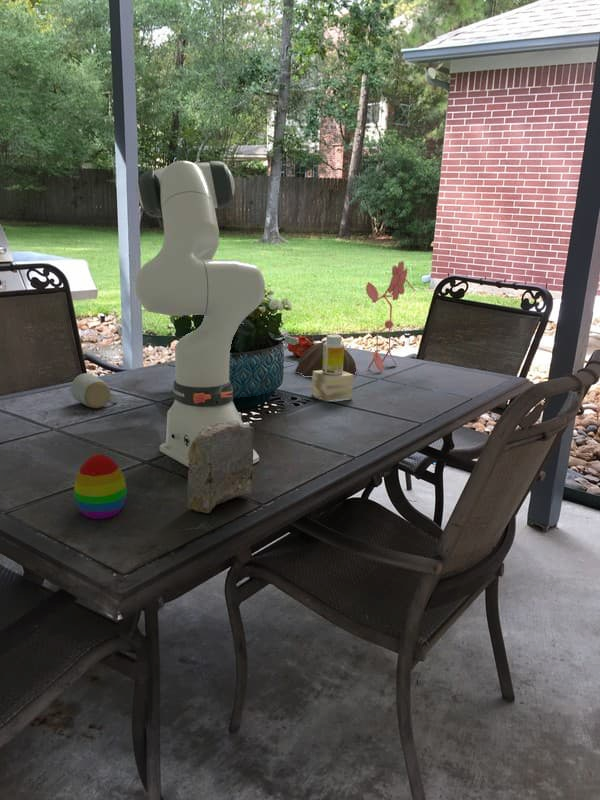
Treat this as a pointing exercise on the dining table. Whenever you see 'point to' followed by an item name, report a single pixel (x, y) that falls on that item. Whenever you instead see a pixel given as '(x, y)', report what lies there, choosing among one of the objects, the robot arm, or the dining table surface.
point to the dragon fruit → (300, 345)
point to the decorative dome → (321, 361)
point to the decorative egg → (100, 488)
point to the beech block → (332, 385)
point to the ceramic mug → (91, 391)
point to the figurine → (396, 289)
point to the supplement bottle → (333, 355)
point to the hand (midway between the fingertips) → (291, 344)
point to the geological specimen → (220, 465)
